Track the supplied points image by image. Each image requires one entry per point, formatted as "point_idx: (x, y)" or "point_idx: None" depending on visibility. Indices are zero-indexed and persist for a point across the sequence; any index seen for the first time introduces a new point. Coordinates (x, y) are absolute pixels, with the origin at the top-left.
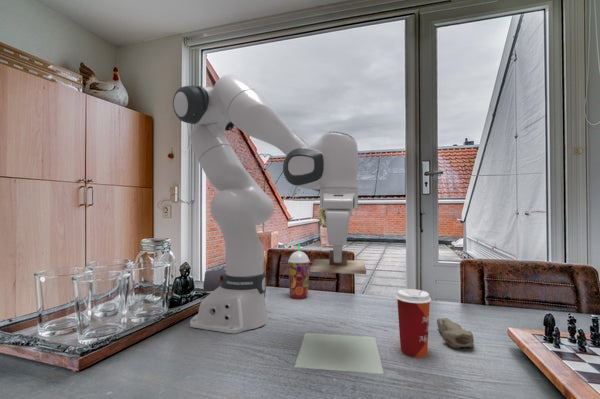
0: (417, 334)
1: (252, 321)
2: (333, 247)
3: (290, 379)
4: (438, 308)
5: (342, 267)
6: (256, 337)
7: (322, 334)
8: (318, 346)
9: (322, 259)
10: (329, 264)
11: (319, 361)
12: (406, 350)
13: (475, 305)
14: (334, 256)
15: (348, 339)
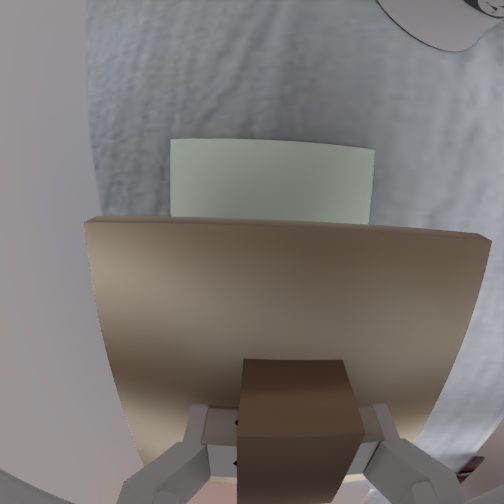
0: None
1: (394, 2)
2: (126, 485)
3: (133, 140)
4: (469, 430)
5: (175, 416)
6: (338, 21)
7: (367, 198)
8: (288, 188)
9: (468, 297)
10: (243, 361)
11: (204, 195)
12: None
13: (459, 466)
14: (187, 434)
15: None
